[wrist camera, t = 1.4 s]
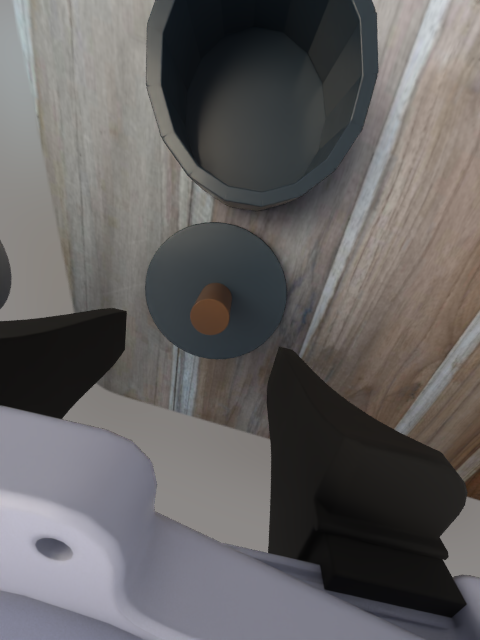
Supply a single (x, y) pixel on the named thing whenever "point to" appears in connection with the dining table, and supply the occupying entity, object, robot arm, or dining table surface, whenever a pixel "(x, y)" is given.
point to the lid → (215, 290)
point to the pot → (260, 91)
